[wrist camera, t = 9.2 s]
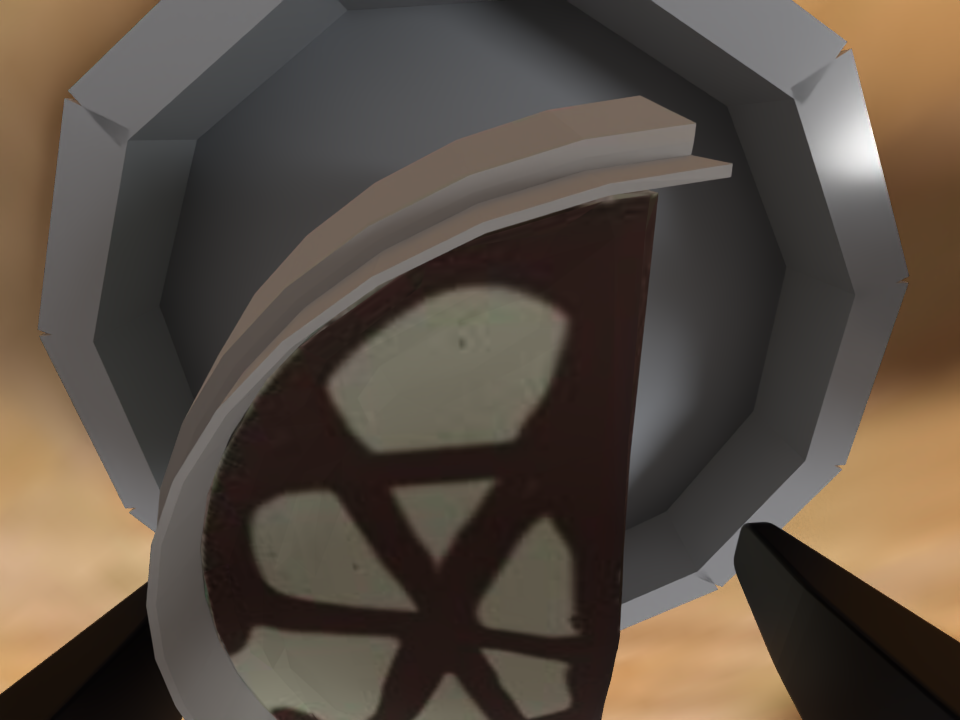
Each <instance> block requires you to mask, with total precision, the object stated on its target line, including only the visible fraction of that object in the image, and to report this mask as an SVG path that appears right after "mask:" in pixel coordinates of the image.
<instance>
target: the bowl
mask: <svg viewBox="0 0 960 720" xmlns="http://www.w3.org/2000/svg"><path fill="white" fill-rule="evenodd" d="M846 43H847V41H845V40H844V39H843V38H841V37H840V36H839V35H837V34H836V33H835V32H833V31H832V30H831V29H829V28H828V27H827V26H825V25H824V24H823V23H821V22H820V21H819V20H817V19H816V18H815V17H813V16H812V15H811V14H809V13H808V12H807V11H805V10H804V9H803V8H801V7H800V6H799V5H797V4H796V3H795V2H793V1H792V0H161V1H160V2H159V3H157V4H156V5H155V6H154V7H153V8H152V9H151V10H150V11H149V12H148V13H147V14H146V15H145V16H144V17H143V18H142V19H141V20H140V21H139V22H138V23H137V24H136V25H135V26H134V27H133V28H132V29H131V30H130V31H129V32H128V33H127V34H126V35H125V36H124V37H123V38H122V39H121V40H120V41H118V42H117V43H116V44H115V45H114V46H113V47H112V48H111V49H110V50H109V51H108V52H107V53H106V54H105V55H104V56H103V57H102V58H101V59H100V60H99V61H98V62H97V63H96V64H95V65H94V66H93V67H92V68H91V69H90V70H89V71H88V72H87V73H86V74H85V75H84V76H83V77H82V78H80V79H79V80H78V81H77V82H76V83H75V84H74V85H73V86H72V87H71V88H70V89H69V90H68V91H69V92H70V93H71V95H72V96H73V97H74V98H75V99H70V98H65V99H64V107H63V116H62V125H61V133H60V142H59V151H58V159H57V168H56V176H55V185H54V194H53V202H52V211H51V220H50V228H49V237H48V245H47V254H46V263H45V271H44V280H43V288H42V297H41V306H40V314H39V323H38V330H40V331H43V332H45V333H44V334H42V335H40V336H39V337H40V339H41V341H42V343H43V345H44V347H45V349H46V351H47V353H48V355H49V357H50V359H51V361H52V363H53V365H54V367H55V369H56V371H57V373H58V375H59V377H60V379H61V381H62V383H63V385H64V387H65V389H66V391H67V393H68V395H69V397H70V399H71V401H72V403H73V405H74V407H75V409H76V411H77V413H78V415H79V417H80V419H81V421H82V423H83V425H84V427H85V429H86V431H87V433H88V435H89V437H90V439H91V441H92V443H93V445H94V447H95V449H96V451H97V453H98V455H99V457H100V459H101V461H102V463H103V465H104V467H105V469H106V471H107V473H108V475H109V477H110V479H111V481H112V483H113V485H114V487H115V489H116V491H117V493H118V495H119V497H120V499H121V501H122V503H123V505H124V507H125V508H133V509H132V510H131V511H130V512H129V513H130V514H132V515H133V516H134V517H135V518H137V519H138V520H139V521H141V522H142V523H143V524H145V525H146V526H147V527H149V528H150V529H151V530H153V531H154V532H156V528H157V518H158V507H159V496H160V487H161V485H162V482H163V479H164V476H165V473H166V470H167V467H168V464H169V461H170V458H171V455H172V452H173V449H174V446H175V443H176V440H177V437H178V434H179V431H180V428H181V425H182V423H183V421H184V419H185V417H186V415H187V413H188V411H189V409H190V408H191V406H192V404H193V402H194V400H195V398H196V396H197V394H198V393H199V391H200V389H201V387H202V385H203V383H204V381H205V379H206V378H207V376H208V374H209V372H210V370H211V368H212V366H213V365H214V363H215V361H216V359H217V357H218V355H219V353H220V352H221V350H222V348H223V347H224V345H225V343H226V342H227V340H228V338H229V336H230V335H231V333H232V331H233V330H234V328H235V326H236V325H237V323H238V321H239V320H240V318H241V316H242V315H243V313H244V311H245V310H246V308H247V306H248V304H249V303H250V301H251V299H252V298H253V296H254V294H255V293H256V292H257V291H258V290H259V289H260V287H261V286H262V285H263V284H264V283H265V282H266V281H267V280H268V278H269V277H270V276H271V275H272V274H273V273H274V272H275V271H276V269H277V268H278V267H279V266H280V265H281V264H282V263H283V262H284V261H285V259H286V258H287V257H288V256H289V255H290V254H291V253H292V252H293V250H294V249H295V248H296V247H297V246H298V245H299V244H300V243H301V241H302V240H303V239H304V238H305V237H306V236H307V235H308V234H309V233H311V232H312V231H313V230H315V229H316V228H317V227H318V226H320V225H321V224H322V223H324V222H325V221H326V220H327V219H329V218H330V217H331V216H333V215H334V214H335V213H336V212H338V211H339V210H340V209H342V208H343V207H344V206H346V205H347V204H348V203H349V202H351V201H352V200H353V199H355V198H356V197H357V196H358V195H360V194H361V193H362V192H364V191H365V190H366V189H367V188H369V187H370V186H371V185H373V184H374V183H376V182H377V181H379V180H381V179H383V178H385V177H387V176H389V175H391V174H393V173H394V172H396V171H398V170H400V169H402V168H404V167H406V166H408V165H410V164H412V163H413V162H415V161H417V160H419V159H421V158H423V157H425V156H427V155H429V154H430V153H432V152H434V151H436V150H438V149H440V148H442V147H444V146H446V145H447V144H449V143H451V142H453V141H455V140H457V139H460V138H463V137H467V136H470V135H473V134H476V133H479V132H482V131H485V130H488V129H491V128H494V127H497V126H500V125H503V124H506V123H509V122H512V121H515V120H518V119H522V118H525V117H528V116H531V115H534V114H537V113H540V112H543V111H546V110H550V109H556V108H563V107H569V106H576V105H582V104H588V103H595V102H601V101H607V100H614V99H620V98H627V97H633V96H639V95H640V96H642V97H644V98H646V99H648V100H650V101H652V102H654V103H656V104H658V105H660V106H662V107H664V108H666V109H668V110H670V111H672V112H674V113H676V114H679V115H681V116H683V117H685V118H687V119H689V120H691V121H693V122H695V123H696V129H695V137H694V144H693V148H692V153H691V155H693V156H698V157H703V158H708V159H713V160H717V161H722V162H727V163H732V164H733V167H732V174H731V177H728V178H722V179H715V180H709V181H702V182H695V183H689V184H682V185H676V186H669V187H662V188H656V189H649V190H650V191H654V192H658V193H659V194H658V203H657V212H656V222H655V231H654V240H653V250H652V259H651V268H650V278H649V287H648V296H647V306H646V315H645V324H644V334H643V343H642V352H641V362H640V371H639V380H638V389H637V399H636V408H635V417H634V427H633V436H632V445H631V455H630V469H629V483H628V498H627V512H626V526H625V541H624V558H623V585H622V604H621V623H620V630H622V629H625V628H627V627H630V626H632V625H634V624H637V623H639V622H641V621H644V620H646V619H649V618H651V617H653V616H656V615H658V614H661V613H663V612H665V611H668V610H670V609H672V608H675V607H677V606H680V605H682V604H684V603H687V602H689V601H692V600H694V599H696V598H699V597H701V596H704V595H706V594H708V593H711V592H713V591H715V590H718V589H717V587H716V585H718V586H721V587H722V586H723V585H724V584H725V583H726V582H727V581H728V580H730V579H731V578H732V577H733V576H734V575H735V574H736V572H735V568H734V554H735V550H736V546H737V542H738V538H739V534H740V530H741V527H742V526H743V525H744V524H746V523H754V522H769V523H772V524H774V525H776V526H777V527H779V528H781V529H782V528H783V527H784V526H785V525H786V524H787V523H788V522H789V521H790V520H791V519H792V518H793V517H794V516H795V515H796V514H797V513H798V512H799V511H800V510H801V509H802V508H803V507H804V506H805V505H806V504H807V503H808V502H809V501H810V500H811V499H812V498H813V497H814V496H815V495H817V494H818V493H819V492H820V491H821V490H822V489H823V488H824V487H825V486H826V485H827V484H828V483H829V482H830V481H831V480H832V479H833V478H834V477H835V476H836V475H837V474H838V473H839V472H840V471H841V470H842V469H841V468H840V467H839V466H838V465H845V464H846V461H847V458H848V455H849V453H850V450H851V447H852V444H853V441H854V438H855V435H856V432H857V430H858V427H859V424H860V421H861V418H862V415H863V412H864V410H865V407H866V404H867V401H868V398H869V395H870V392H871V389H872V387H873V384H874V381H875V378H876V375H877V372H878V369H879V366H880V364H881V361H882V358H883V355H884V352H885V349H886V346H887V343H888V341H889V338H890V335H891V332H892V329H893V326H894V323H895V320H896V318H897V315H898V312H899V309H900V306H901V303H902V300H903V297H904V295H905V292H906V289H907V286H908V282H905V281H902V280H903V279H904V278H906V277H908V276H909V273H908V269H907V266H906V262H905V258H904V254H903V250H902V246H901V242H900V238H899V234H898V230H897V226H896V222H895V218H894V214H893V210H892V206H891V202H890V198H889V195H888V191H887V187H886V183H885V179H884V175H883V171H882V167H881V163H880V159H879V155H878V151H877V147H876V143H875V139H874V135H873V131H872V127H871V124H870V120H869V116H868V112H867V108H866V104H865V100H864V96H863V92H862V88H861V84H860V80H859V76H858V72H857V68H856V64H855V60H854V56H853V53H852V49H848V50H844V51H841V50H842V48H843V47H844V46H845V44H846ZM715 584H716V585H715Z"/></svg>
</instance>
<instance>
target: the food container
mask: <svg viewBox="0 0 960 720" xmlns="http://www.w3.org/2000/svg"><path fill="white" fill-rule="evenodd" d="M695 129H696V123H695V122H693V121H691V120H689V119H687V118H685V117H683V116H681V115H679V114H676V113H674V112H672V111H670V110H668V109H666V108H664V107H662V106H660V105H658V104H656V103H654V102H652V101H650V100H648V99H646V98H644V97H642V96H640V95H639V96H633V97H627V98H620V99H614V100H607V101H601V102H595V103H588V104H582V105H576V106H569V107H563V108H556V109H550V110H546V111H543V112H540V113H537V114H534V115H531V116H528V117H525V118H522V119H518V120H515V121H512V122H509V123H506V124H503V125H500V126H497V127H494V128H491V129H488V130H485V131H482V132H479V133H476V134H473V135H470V136H467V137H463V138H460V139H457V140H455V141H453V142H451V143H449V144H447V145H446V146H444V147H442V148H440V149H438V150H436V151H434V152H432V153H430V154H429V155H427V156H425V157H423V158H421V159H419V160H417V161H415V162H413V163H412V164H410V165H408V166H406V167H404V168H402V169H400V170H398V171H396V172H394V173H393V174H391V175H389V176H387V177H385V178H383V179H381V180H379V181H377V182H376V183H374V184H373V185H371V186H370V187H369V188H367V189H366V190H365V191H364V192H362V193H361V194H360V195H358V196H357V197H356V198H355V199H353V200H352V201H351V202H349V203H348V204H347V205H346V206H344V207H343V208H342V209H340V210H339V211H338V212H336V213H335V214H334V215H333V216H331V217H330V218H329V219H327V220H326V221H325V222H324V223H322V224H321V225H320V226H318V227H317V228H316V229H315V230H313V231H312V232H311V233H309V234H308V235H307V236H306V237H305V238H304V239H303V240H302V241H301V243H300V244H299V245H298V246H297V247H296V248H295V249H294V250H293V252H292V253H291V254H290V255H289V256H288V257H287V258H286V259H285V261H284V262H283V263H282V264H281V265H280V266H279V267H278V268H277V269H276V271H275V272H274V273H273V274H272V275H271V276H270V277H269V278H268V280H267V281H266V282H265V283H264V284H263V285H262V286H261V287H260V289H259V290H258V291H257V292H256V293H255V294H254V296H253V298H252V299H251V301H250V303H249V304H248V306H247V308H246V310H245V311H244V313H243V315H242V316H241V318H240V320H239V321H238V323H237V325H236V326H235V328H234V330H233V331H232V333H231V335H230V336H229V338H228V340H227V342H226V343H225V345H224V347H223V348H222V350H221V352H220V353H219V355H218V357H217V359H216V361H215V363H214V365H213V366H212V368H211V370H210V372H209V374H208V376H207V378H206V379H205V381H204V383H203V385H202V387H201V389H200V391H199V393H198V394H197V396H196V398H195V400H194V402H193V404H192V406H191V408H190V409H189V411H188V413H187V415H186V417H185V419H184V421H183V423H182V425H181V428H180V431H179V434H178V437H177V440H176V443H175V446H174V449H173V452H172V455H171V458H170V461H169V464H168V467H167V470H166V473H165V476H164V479H163V482H162V485H161V487H160V496H159V507H158V518H157V528H156V532H155V535H154V538H153V541H152V544H151V552H150V564H149V577H148V589H147V602H146V608H147V614H148V620H149V625H150V631H151V637H152V643H153V649H154V655H155V660H156V662H157V665H158V667H159V669H160V672H161V674H162V676H163V678H164V681H165V683H166V685H167V688H168V690H169V692H170V695H171V697H172V699H173V702H174V704H175V706H176V708H177V709H178V711H179V712H180V714H181V715H182V716H183V718H184V719H185V720H601V718H602V713H603V708H604V703H605V699H606V695H607V692H608V688H609V685H610V681H611V677H612V672H613V667H614V662H615V657H616V653H617V650H618V644H619V638H620V623H621V604H622V585H623V558H624V541H625V526H626V512H627V498H628V483H629V469H630V455H631V445H632V436H633V427H634V417H635V408H636V399H637V389H638V380H639V371H640V362H641V352H642V343H643V334H644V324H645V315H646V306H647V296H648V287H649V278H650V268H651V259H652V250H653V240H654V231H655V222H656V212H657V203H658V194H659V193H658V192H654V191H650V190H649V189H656V188H662V187H669V186H676V185H682V184H689V183H695V182H702V181H709V180H715V179H722V178H728V177H731V174H732V167H733V164H732V163H727V162H722V161H717V160H713V159H708V158H703V157H698V156H693V155H691V153H692V148H693V144H694V137H695Z"/></svg>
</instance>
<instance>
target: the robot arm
mask: <svg viewBox="0 0 960 720" xmlns="http://www.w3.org/2000/svg"><path fill="white" fill-rule="evenodd" d="M734 568H735V572H736V574H737V577H738V579H739V582H740V584H741V586H742V589H743V591H744V594H745V596H746V599H747V601H748V603H749V606H750V608H751V611H752V613H753V615H754V618H755V620H756V623H757V625H758V627H759V630H760V632H761V635H762V637H763V640H764V642H765V644H766V647H767V649H768V652H769V654H770V656H771V658H772V661H773V663H774V665H775V667H776V669H777V671H778V673H779V675H780V677H781V679H782V681H783V683H784V685H785V687H786V689H787V691H788V693H789V695H790V697H791V699H792V701H793V702H794V704H795V706H796V708H797V710H798V712H799V714H800V716H801V718H802V720H960V642H958V641H957V640H955V639H954V638H952V637H950V636H949V635H947V634H946V633H944V632H943V631H941V630H939V629H938V628H936V627H935V626H933V625H932V624H930V623H928V622H927V621H925V620H924V619H922V618H921V617H919V616H917V615H916V614H914V613H913V612H911V611H909V610H908V609H906V608H905V607H903V606H902V605H900V604H898V603H897V602H895V601H894V600H892V599H891V598H889V597H887V596H886V595H884V594H883V593H881V592H880V591H878V590H876V589H875V588H873V587H872V586H870V585H869V584H867V583H865V582H864V581H862V580H861V579H859V578H858V577H856V576H854V575H853V574H851V573H850V572H848V571H847V570H845V569H843V568H842V567H840V566H839V565H837V564H836V563H834V562H832V561H831V560H829V559H828V558H826V557H825V556H823V555H821V554H820V553H818V552H817V551H815V550H814V549H812V548H810V547H809V546H807V545H806V544H804V543H803V542H801V541H799V540H798V539H796V538H795V537H793V536H792V535H790V534H788V533H787V532H785V531H784V530H782V529H781V528H779V527H777V526H776V525H774V524H772V523H769V522H754V523H746V524H744V525H743V526H742V527H741V530H740V534H739V538H738V542H737V546H736V550H735V554H734ZM147 589H148V582H146V583H145V584H144V585H142V586H141V587H140V588H138V589H137V590H136V591H135V592H133V593H132V594H131V595H129V596H128V597H127V598H125V599H124V600H123V601H121V602H120V603H119V604H118V605H116V606H115V607H114V608H112V609H111V610H110V611H108V612H107V613H106V614H104V615H103V616H102V617H101V618H99V619H98V620H97V621H95V622H94V623H93V624H91V625H90V626H89V627H87V628H86V629H85V630H84V631H82V632H81V633H80V634H78V635H77V636H76V637H74V638H73V639H72V640H70V641H69V642H68V643H67V644H65V645H64V646H63V647H61V648H60V649H59V650H57V651H56V652H55V653H54V654H52V655H51V656H50V657H48V658H47V659H46V660H44V661H43V662H42V663H40V664H39V665H38V666H37V667H35V668H34V669H33V670H31V671H30V672H29V673H27V674H26V675H25V676H23V677H22V678H21V679H20V680H18V681H17V682H16V683H14V684H13V685H12V686H10V687H9V688H8V689H6V690H5V691H4V692H3V693H1V694H0V720H181V719H182V717H183V716H182V715H181V714H180V712H179V711H178V709H177V708H176V706H175V704H174V702H173V699H172V697H171V695H170V692H169V690H168V688H167V685H166V683H165V681H164V678H163V676H162V674H161V672H160V669H159V667H158V665H157V662H156V660H155V655H154V649H153V643H152V637H151V631H150V625H149V620H148V614H147V608H146V602H147Z"/></svg>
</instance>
